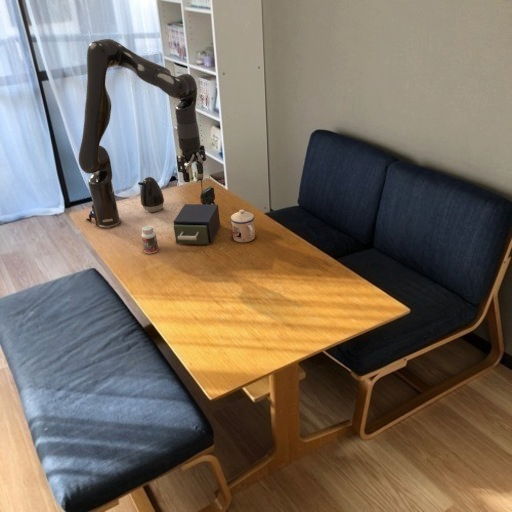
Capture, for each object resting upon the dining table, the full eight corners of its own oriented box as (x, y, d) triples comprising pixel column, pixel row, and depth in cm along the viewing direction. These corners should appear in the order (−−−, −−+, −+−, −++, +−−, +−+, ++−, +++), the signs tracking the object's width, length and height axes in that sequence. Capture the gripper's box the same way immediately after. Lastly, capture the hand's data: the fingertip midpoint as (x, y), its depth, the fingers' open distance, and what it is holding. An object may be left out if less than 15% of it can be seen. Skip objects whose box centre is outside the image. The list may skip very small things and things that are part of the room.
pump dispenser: (137, 210, 228) (131, 178, 220) (157, 202, 234) (152, 171, 226) (150, 216, 221) (144, 183, 214) (170, 209, 227) (164, 176, 220)
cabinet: (211, 243, 197) (208, 221, 192) (176, 242, 199) (173, 221, 194) (220, 225, 210) (218, 204, 205) (187, 224, 212) (184, 204, 208)
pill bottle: (143, 254, 192) (138, 231, 187) (145, 247, 197) (141, 224, 192) (157, 253, 192) (153, 230, 187) (159, 246, 197) (155, 224, 192)
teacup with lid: (228, 236, 201) (225, 209, 195) (248, 230, 205) (246, 203, 199) (243, 248, 192) (241, 220, 186) (264, 241, 195) (262, 213, 190)
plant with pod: (222, 213, 220) (217, 168, 210) (198, 220, 215) (193, 175, 205) (212, 207, 226) (208, 163, 216) (190, 214, 221) (184, 170, 211)
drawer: (204, 250, 190) (202, 233, 186) (172, 249, 192) (169, 232, 188) (216, 226, 207) (214, 210, 203) (186, 226, 209) (184, 209, 205)
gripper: (191, 128, 187) (196, 170, 195) (167, 139, 177) (174, 183, 185) (208, 129, 184) (213, 172, 192) (185, 141, 173) (190, 186, 181)
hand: (194, 177), depth 188 cm, fingers open, 8 cm apart
